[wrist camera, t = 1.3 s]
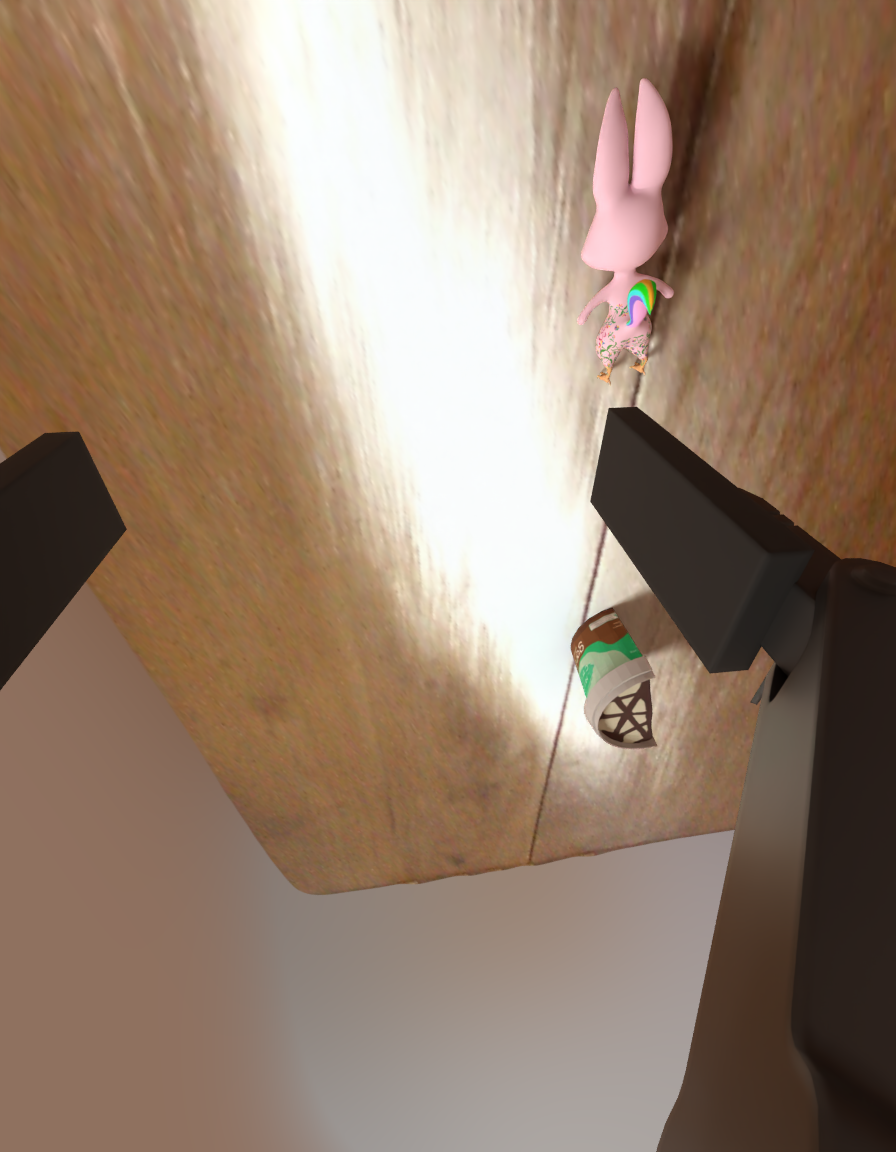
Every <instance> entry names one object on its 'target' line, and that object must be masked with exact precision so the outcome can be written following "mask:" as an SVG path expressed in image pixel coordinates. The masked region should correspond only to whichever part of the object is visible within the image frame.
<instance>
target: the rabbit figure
mask: <svg viewBox="0 0 896 1152" xmlns="http://www.w3.org/2000/svg"><path fill="white" fill-rule="evenodd" d="M671 160H672V129H671V122H670V117H669V114H668V111H667V108H666V106H665V104H664V102H663V100H662V98H661V96H660V94H659V93H658V91H657V90H656V88H655V87H654V86H653V84H652V83H651V82H650V81H649V80H648V79H646V78H643V79H641V81H640V86H639V98H638V106H637V114H636V125H635V139H634V152H633V173H632V181H631V183H630V185H629V184H628V179H629V155H628V130H627V124H626V119H625V115H624V111H623V107H622V103H621V99H620V93H619V90H618V88H614V89H613V90H612V92H611V93H610V96H609V98H608V101H607V105H606V109H605V113H604V117H603V122H602V127H601V131H600V136H599V142H598V148H597V155H596V163H595V169H594V176H593V194H594V198H595V201H596V204H597V210H596V214H595V217H594V220H593V222H592V225H591V227H590V230H589V233H588V235H587V238H586V241H585V244H584V246H583V249H582V252H581V257H582V260H583V261H584V262H585V263H586V264H587V265H589V266H590V267H592V268H594V269H599V270H608V271H615V274H614V278H613V279H612V281H611V282H610V283H609V284H607V285H606V286H605V287H604V288H602V289H601V290H600V291H599V292H598V293H597V294H596V295H595V296H594V297H593V298H592V299H591V300H590V301H589V303H588V304H587V305H586V307H585V308H584V310H583V311H582V312H581V314H580V315H579V317H578V319H577V323H578V324H579V325H582V324H584V323H585V322H586V320H587V319H588V316H589V315H590V313H591V312H592V310H593V309H594V308H595V307H596V306H598V305H599V304H600V303H602V302H605V301H607V302H608V303H609V307H610V310H609V314H608V316H607V318H606V320H605V322H604V324H603V325H602V327H601V329H600V331H599V333H598V336H597V339H596V352H597V355H598V357H599V358H600V359H601V361H602V362H603V364H604V366H605V367H606V369H607V374H605V373H603V372H601V373H600V374H602V375H601V376H599V375H598V376H597V379H598V377H600V379H602V380H604V381H605V382H607V383H608V382H609V384H610V386H611V382H610V380H609V377H610V373H611V371H612V366H613V365H614V363H615V361H616V359H617V357H618V355H619V353H620V351H621V350H622V349H623V348H625V349H626V350H628V351H629V352H631V353H633V354H634V355H636V356H637V357H638V358H639V359H640V360H641V364H639V363H637V362H635V365H634V366H631V367H630V368H634V369H636V370H638V371H639V372H641V373H642V372H643V374H644V375H645V372H644V369H643V368H644V366H645V363H646V362H647V360H648V357H647V351H648V345H649V338H650V334H651V329H652V325H651V321H650V319H649V317H648V315H647V312H649V315H650V314H651V312H652V309H653V307H654V304H655V300H656V290H658V291H660V292H661V293H662V294H663V296H664V297H665V298H671V297H672V296H673V294H674V291H673V289H672V288H671V287H670V286H668V285H667V284H666V283H665V282H663V281H662V280H660V279H658V278H655V277H652V276H649V275H645V274H639V273H637V272H636V268H637V267H639V266H640V265H642V264H644V263H645V262H646V261H647V260H648V259H650V258H651V256H652V255H653V254H654V253H655V252H656V250H657V249H658V248H659V246H660V245H661V243H662V242H663V241H664V239H665V237H666V235H667V232H668V225H667V222H666V219H665V216H664V210H663V203H662V197H661V189H662V186H663V183H664V181H665V179H666V177H667V175H668V172H669V169H670V165H671ZM630 368H629V369H630Z"/></svg>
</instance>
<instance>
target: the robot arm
mask: <svg viewBox="0 0 896 1152" xmlns="http://www.w3.org/2000/svg"><path fill="white" fill-rule="evenodd" d="M590 502H591V503H592V505H593V506H594V507H595V509H596V510H597V512H598V513H599V515H600V516H601V518H602V519H603V520H604V522H605V523H606V525H607V526H608V528H609V529H610V530H611V532H612V533H613V535H614V536H615V538H616V539H617V541H618V542H619V543H620V545H621V546H622V548H623V549H624V551H625V552H626V553H627V555H628V556H629V558H630V559H631V561H632V562H633V564H634V565H635V566H636V568H637V569H638V571H639V572H640V574H641V575H642V577H643V578H644V579H645V581H646V582H647V584H648V585H649V587H650V588H651V589H652V591H653V592H654V594H655V595H656V597H657V598H658V600H659V601H660V602H661V604H662V605H663V607H664V608H665V610H666V611H667V612H668V614H669V615H670V617H671V618H672V620H673V621H674V623H675V624H676V625H677V627H678V628H679V630H680V631H681V633H682V634H683V635H684V637H685V638H686V640H687V641H688V643H689V644H690V646H691V647H692V648H693V650H694V651H695V653H696V654H697V656H698V657H699V659H700V660H701V661H702V663H703V664H704V666H705V667H706V669H707V670H708V671H709V673H719V672H730V671H741V670H748V669H749V668H750V666H751V664H752V662H753V660H754V659H755V657H756V655H757V653H758V651H759V650H760V648H761V646H762V647H763V649H764V650H765V651H766V652H767V653H768V654H769V656H770V657H771V658H772V659H773V660H774V661H775V662H774V664H773V665H772V667H771V669H770V670H769V672H768V674H767V675H766V677H765V679H764V680H763V682H762V684H761V685H760V687H759V689H758V690H757V692H756V694H755V695H754V697H753V699H752V700H751V703H754V704H756V705H757V704H758V703H759V701H760V700H761V704H760V709H759V714H758V719H757V724H756V729H755V733H754V738H753V743H752V748H751V753H750V758H749V763H748V768H747V773H746V778H745V783H744V787H743V792H742V797H741V802H740V807H739V812H738V817H737V822H736V827H735V832H734V837H733V842H732V847H731V852H730V857H729V862H728V866H727V871H726V876H725V881H724V886H723V891H722V896H721V900H720V905H719V910H718V915H717V920H716V925H715V930H714V935H713V940H712V945H711V950H710V954H709V960H708V964H707V970H706V974H705V980H704V984H703V989H702V994H701V999H700V1004H699V1008H698V1013H697V1019H696V1023H695V1028H694V1033H693V1038H692V1043H691V1048H690V1053H689V1058H688V1062H687V1067H686V1072H685V1076H684V1080H683V1084H682V1087H681V1090H680V1093H679V1096H678V1098H677V1100H676V1102H675V1105H674V1107H673V1109H672V1111H671V1113H670V1115H669V1117H668V1119H667V1121H666V1123H665V1126H664V1129H663V1132H662V1135H661V1138H660V1141H659V1144H658V1147H657V1151H656V1152H896V567H893V566H890V565H887V564H884V563H881V562H877V561H872V560H867V559H861V558H845V559H842V560H841V559H840V558H839V557H837V556H836V555H835V554H834V553H832V552H831V551H830V550H828V549H827V548H826V547H825V546H823V545H822V544H821V543H819V542H818V541H817V540H816V539H814V538H813V537H812V536H810V535H809V534H808V533H807V532H805V531H804V530H803V529H801V528H800V527H799V526H794V522H792V521H791V520H790V519H789V518H787V517H786V516H785V515H780V511H778V510H777V509H776V508H774V507H773V506H772V505H771V504H769V503H768V502H767V501H765V500H764V499H763V498H760V497H758V496H756V495H754V494H752V493H750V492H747V491H745V490H743V489H741V488H737V487H736V486H735V485H734V484H732V483H731V482H730V481H729V480H727V479H726V478H725V477H724V476H722V475H721V474H720V473H719V472H717V471H716V470H715V469H714V468H712V467H711V466H710V465H709V464H707V463H706V462H705V461H704V460H702V459H701V458H700V457H699V456H697V455H696V454H695V453H694V452H692V451H691V450H690V449H689V448H688V447H686V446H685V445H684V444H683V443H681V442H680V441H679V440H678V439H676V438H675V437H674V436H673V435H671V434H670V433H669V432H668V431H666V430H665V429H664V428H663V427H661V426H660V425H659V424H658V423H656V422H655V421H654V420H653V419H651V418H650V417H649V416H648V415H646V414H645V413H644V412H643V411H641V410H640V409H639V408H638V407H624V408H609V409H608V414H607V419H606V425H605V430H604V435H603V440H602V445H601V450H600V455H599V460H598V465H597V470H596V475H595V481H594V486H593V491H592V496H591V501H590ZM126 530H127V529H126V527H125V525H124V523H123V521H122V519H121V517H120V515H119V513H118V511H117V509H116V506H115V504H114V502H113V500H112V498H111V496H110V494H109V492H108V490H107V488H106V486H105V484H104V482H103V480H102V478H101V476H100V474H99V472H98V470H97V468H96V466H95V464H94V462H93V459H92V457H91V455H90V453H89V451H88V449H87V447H86V445H85V443H84V441H83V439H82V437H81V435H80V433H79V432H59V433H44V434H43V435H41V436H40V437H39V438H37V439H36V440H34V441H33V442H31V443H30V444H28V445H27V446H25V447H24V448H22V449H21V450H19V451H18V452H17V453H15V454H14V455H12V456H11V457H9V458H8V459H6V460H5V461H3V462H2V463H0V690H1V689H2V687H3V686H4V685H5V684H6V682H7V681H8V680H9V678H10V677H11V676H12V675H13V673H14V672H15V671H16V670H17V668H18V667H19V666H20V665H21V663H22V662H23V661H24V659H25V658H26V657H27V656H28V654H29V653H30V652H31V651H32V649H33V648H34V647H35V645H36V644H37V643H38V642H39V640H40V639H41V638H42V637H43V635H44V634H45V633H46V631H47V630H48V629H49V628H50V626H51V625H52V624H53V623H54V621H55V620H56V619H57V617H58V616H59V615H60V613H61V612H62V611H63V610H64V609H65V607H66V606H67V605H68V603H69V602H70V601H71V600H72V598H73V597H74V596H75V595H76V593H77V592H78V591H79V589H80V588H81V587H82V585H83V584H84V583H85V582H86V580H87V579H88V578H89V577H90V575H91V574H92V573H93V572H94V570H95V569H96V568H97V566H98V565H99V564H100V563H101V561H102V560H103V559H104V558H105V556H106V555H107V554H108V552H109V551H110V550H111V549H112V547H113V546H114V545H115V544H116V542H117V541H118V540H119V538H120V537H121V536H122V535H123V533H124V532H125V531H126ZM761 698H762V699H761Z"/></svg>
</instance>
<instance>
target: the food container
mask: <svg viewBox="0 0 896 1152" xmlns="http://www.w3.org/2000/svg"><path fill="white" fill-rule="evenodd" d="M571 651H572V655H573V658H574V661H575V664H576V667H577V670H578V673H579V676H580V679H581V683H582V686H583V689H584V692H585V695H586V701H585V705H584V714H585V717H586V719H587V720H588V722H589V723H590V725H591V726H592V728H593V729H594V731H595V732H596V733H597V735H599V736H600V737H601V738H602V739H603V740H604V741H605V742H606V743H608V744H610V745H612V746H615V747H618V748H624V749H644V748H651V747H655V746H657V744H656V742H655V740H654V738H653V736H652V729H651V720H652V703H651V693H650V679H652V678H655V675H654V673H653V672H652V668H651V666H650V664H649V662H648V660H647V658H646V656H642V654H641V653H640V651H639V649H638V648H637V646H636V645H635V643H634V641H633V640H632V638H631V637H630V635H629V633H628V632H627V630H626V629H625V627H624V625H623V624H622V622H621V621H620V619H619V617H618V616H617V614H616V613H615V611H614V610H613V608H611V609H608V610H605V611H602V612H600V613H598V614H597V615H595V616H593V617H591V618H590V619H588V620H587V621H586V622H585V623H584V624H583V625H582V626H581V627H579V628H578V630H577V632H576V633H575V635H574V636H573V638H572V642H571Z"/></svg>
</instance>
